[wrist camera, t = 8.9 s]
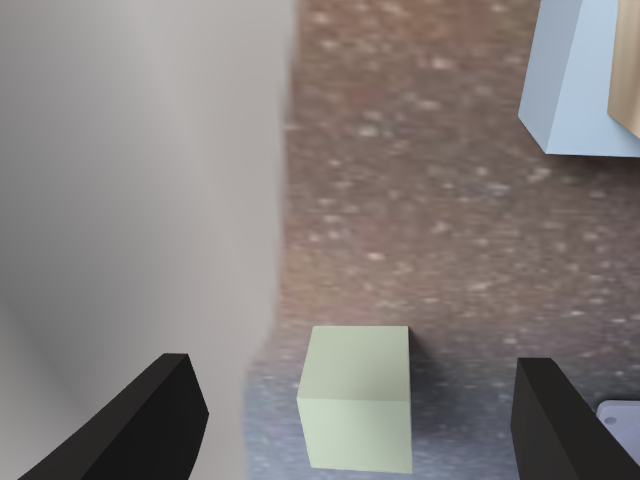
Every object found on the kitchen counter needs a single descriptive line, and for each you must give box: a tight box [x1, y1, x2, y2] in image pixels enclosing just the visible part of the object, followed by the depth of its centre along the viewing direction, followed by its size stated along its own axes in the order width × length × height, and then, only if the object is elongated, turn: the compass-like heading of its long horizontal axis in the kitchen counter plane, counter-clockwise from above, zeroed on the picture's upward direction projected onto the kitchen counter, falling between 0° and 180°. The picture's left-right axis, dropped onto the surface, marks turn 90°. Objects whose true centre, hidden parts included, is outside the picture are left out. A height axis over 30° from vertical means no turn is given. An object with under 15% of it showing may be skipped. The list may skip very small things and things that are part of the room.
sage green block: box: [297, 326, 413, 474], centre depth 22 cm, size 4×4×4 cm
